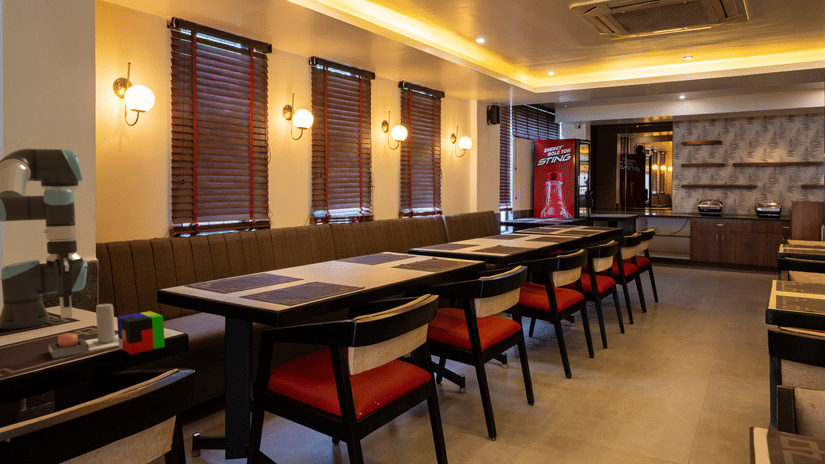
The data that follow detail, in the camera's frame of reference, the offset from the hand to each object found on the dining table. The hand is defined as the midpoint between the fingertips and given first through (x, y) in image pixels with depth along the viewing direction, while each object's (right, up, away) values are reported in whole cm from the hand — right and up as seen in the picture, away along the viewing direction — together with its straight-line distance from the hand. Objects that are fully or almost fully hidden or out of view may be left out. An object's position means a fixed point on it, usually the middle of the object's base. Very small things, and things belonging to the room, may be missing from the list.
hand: (66, 317), depth 162 cm
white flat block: (+6, -10, +11) cm, 16 cm away
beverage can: (+6, -10, +11) cm, 16 cm away
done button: (0, -9, +1) cm, 9 cm away
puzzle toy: (+20, -11, +6) cm, 23 cm away
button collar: (0, -11, +1) cm, 11 cm away
